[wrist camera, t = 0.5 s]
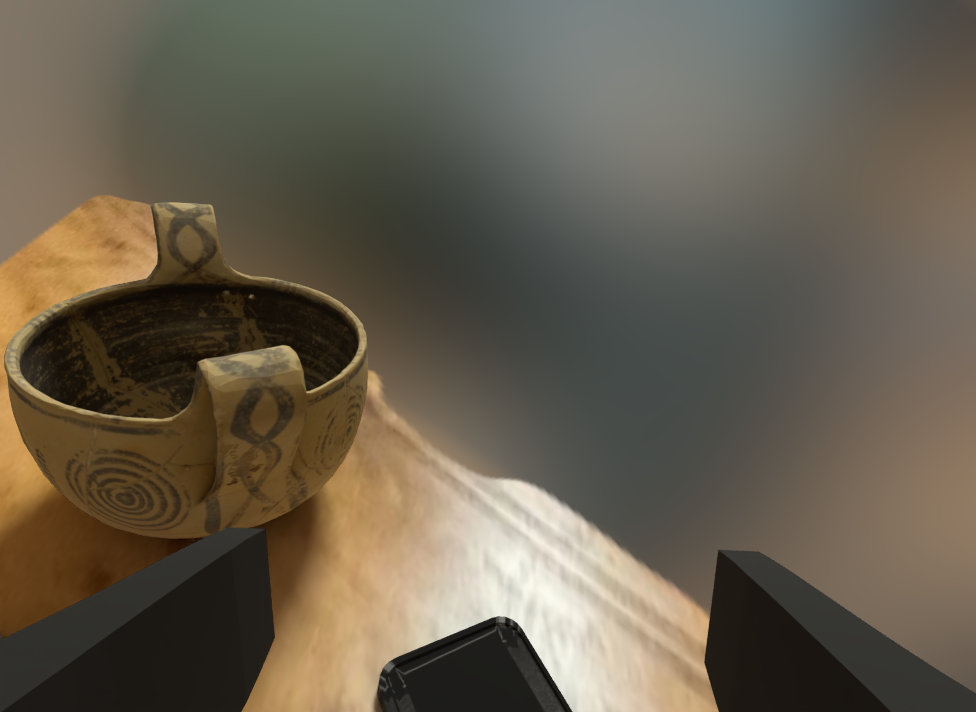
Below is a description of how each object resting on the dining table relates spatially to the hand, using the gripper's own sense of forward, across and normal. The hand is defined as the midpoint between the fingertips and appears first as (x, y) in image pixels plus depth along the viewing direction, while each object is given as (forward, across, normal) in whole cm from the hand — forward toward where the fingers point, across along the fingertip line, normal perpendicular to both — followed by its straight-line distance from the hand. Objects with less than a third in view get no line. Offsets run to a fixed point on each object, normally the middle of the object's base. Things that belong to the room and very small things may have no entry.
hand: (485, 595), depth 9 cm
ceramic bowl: (+23, +18, +10) cm, 31 cm away
